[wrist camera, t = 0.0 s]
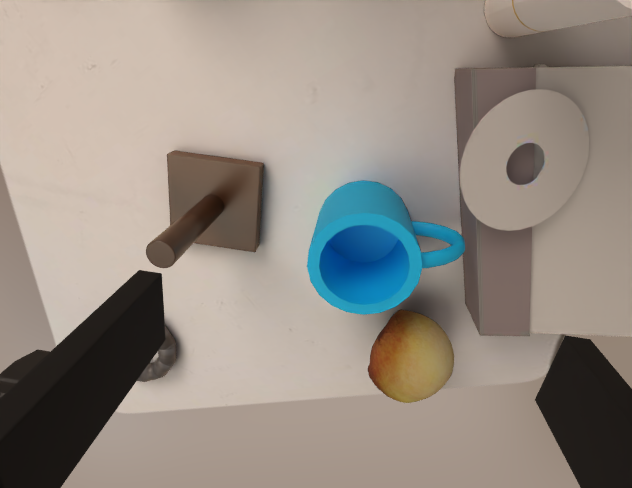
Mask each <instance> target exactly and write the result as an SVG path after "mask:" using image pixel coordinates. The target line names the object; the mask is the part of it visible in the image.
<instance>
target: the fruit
mask: <svg viewBox="0 0 632 488" xmlns="http://www.w3.org/2000/svg"><path fill="white" fill-rule="evenodd" d="M453 366H454V353H453V349H452V345H451V342H450V340H449V338H448V336H447V335H446V333H445V332H444V331H443V329H442V328H441V327H440V326H439V325H438V324H437V323H436V322H434V321H433V320H431V319H430V318H428V317H426V316H424V315H422V314H419V313H416V312H412V311H407V310H399V311H397V312H396V313H395V314H393V316H392V317H391V319H390V320H389V321H388V323H387V325H386V326H385V327H384V329H383V330H382V331H381V332H380V334H379V335H378V337H377V339H376V341H375V343H374V345H373V347H372V350H371V355H370V365H369V366H368V372H369V377H370V378H371V379H372V381H373V383H374V384H375V385H376V386H377V388H378V389H379V390H381V391H382V392H383V393H384V394H385V395H387V396H388V397H390V398H392V399H394V400H397V401H400V402H405V403H410V402H416V401H419V400H423V399H426V398H428V397H430V396H432V395H433V394H435V393H436V392H437V391H439V390H440V389H441V388H442V387H443V386H444V385H445V383H446V382H447V381H448V379H449V378H450V376H451V374H452V371H453Z"/></svg>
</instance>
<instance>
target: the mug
mask: <svg viewBox="0 0 632 488" xmlns="http://www.w3.org/2000/svg"><path fill="white" fill-rule="evenodd" d="M416 235H420V236H427V237H432V238H436V239H439V240H443V241H445V242H447V243H449V244H450V245H451V246H450V247H448V248H445V249H442V250H437V251H431V252H421V250H420V247H419V244H418V241H417V238H416ZM464 251H465V240H464V238H463V237H462V236H461V235H460V234H459V233H458V232H457V231H455V230H452V229H450V228H448V227H445V226H441V225H437V224H433V223H425V222H416V221H411V220H410V216H409V213H408V211H407V209H406V207H405V205H404V203H403V201H402V199H401V198H400V197H399V196H398V195H397V194H396V193H395V192H394V191H393V190H392V189H391V188H389V187H386V186H384V185H382V184H380V183H378V182H371V181H357V182H351V183H348V184H346V185H344V186H342V187H340V188H338V189H336V190H335V191H334V192H333V193H332V194H331V195H330V196H329V197H328V198H327V199H326V200H325V202H324V204H323V206H322V208H321V210H320V213H319V216H318V220H317V224H316V227H315V231H314V234H313V238H312V241H311V245H310V249H309V254H308V263H307V268H308V272H309V276H310V280H311V283H312V284H313V286H314V287H315V289H316V291H317V292H318V294H319V295H320V296H321V297H322V298H324V299H325V300H326V301H327V302H328V303H330V304H331V305H332V306H334V307H337V308H339V309H341V310H343V311H346V312H350V313H356V314H363V315H365V314H374V313H381V312H384V311H386V310H389V309H391V308H394V307H396V306H398V305H399V304H400V303H401V302H403V301H404V300H405V299H406V298H408V297H409V296H410V294H411V293H412V291H413V290H414V289H415V287H416V286H417V284H418V282H419V278H420V275H421V271H422V268H430V267H436V266H441V265H445V264H447V263H450V262H452V261H455V260H457V259H458V258H459V257H460V256H461V255H462V254H463V253H464Z"/></svg>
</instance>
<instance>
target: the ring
mask: <svg viewBox="0 0 632 488" xmlns="http://www.w3.org/2000/svg"><path fill="white" fill-rule="evenodd" d="M165 338H166V340H165V342H164V343H163V344H162V346H161V347H160V349H159V350H158V354H159V357H158V359H157V360H156V361H155V362H154V363H151V364H148V365H147V367H146V368H145V370H144V371H143V372H142V374H141V375H140V377H139V378H138V379H137V381H142V382H147V381H150V380H154V379H157V378H161V377H163V376H165V375H166V374H167V372H168V371H169V370H170V369H171V367H172V366H173V365H174V363H175V362H176V342H175V340H174V338H173V337H172V335H171V334H170V332H169V331H168V329H167V328H166V326H165Z"/></svg>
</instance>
